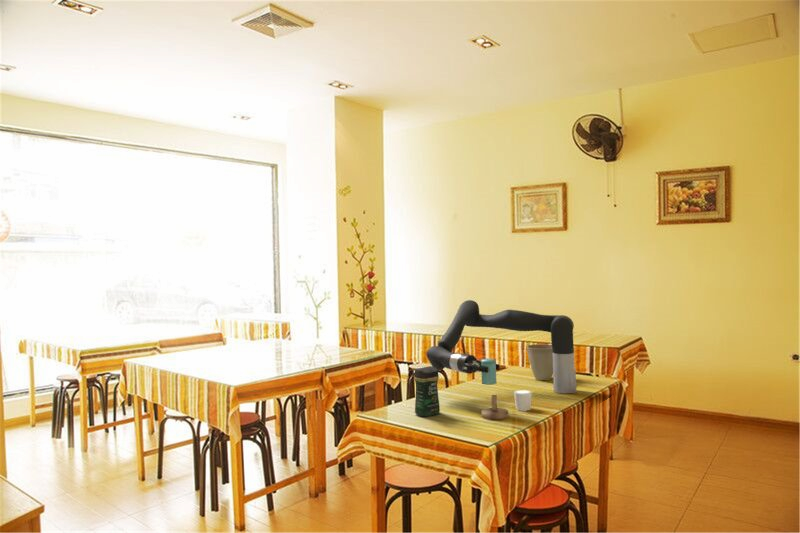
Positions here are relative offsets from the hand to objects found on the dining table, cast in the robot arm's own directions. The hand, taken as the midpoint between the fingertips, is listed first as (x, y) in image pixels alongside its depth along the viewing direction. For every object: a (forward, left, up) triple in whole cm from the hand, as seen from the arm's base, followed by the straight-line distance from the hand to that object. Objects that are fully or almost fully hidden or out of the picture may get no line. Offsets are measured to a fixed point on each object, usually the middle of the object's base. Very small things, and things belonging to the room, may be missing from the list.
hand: (493, 368), depth 221 cm
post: (0, +2, -18) cm, 18 cm away
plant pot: (-26, -61, -18) cm, 69 cm away
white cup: (-11, -8, -18) cm, 23 cm away
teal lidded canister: (+2, -2, -6) cm, 7 cm away
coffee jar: (+26, -2, -18) cm, 32 cm away
